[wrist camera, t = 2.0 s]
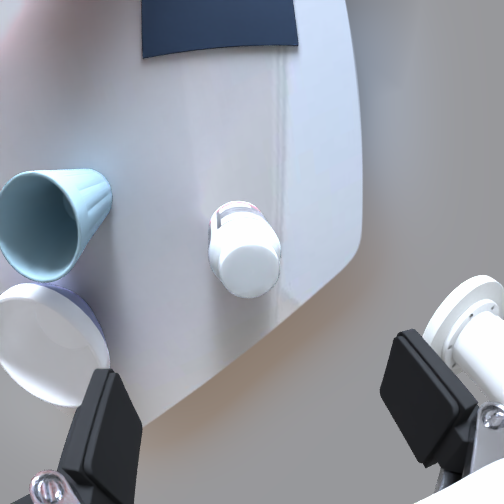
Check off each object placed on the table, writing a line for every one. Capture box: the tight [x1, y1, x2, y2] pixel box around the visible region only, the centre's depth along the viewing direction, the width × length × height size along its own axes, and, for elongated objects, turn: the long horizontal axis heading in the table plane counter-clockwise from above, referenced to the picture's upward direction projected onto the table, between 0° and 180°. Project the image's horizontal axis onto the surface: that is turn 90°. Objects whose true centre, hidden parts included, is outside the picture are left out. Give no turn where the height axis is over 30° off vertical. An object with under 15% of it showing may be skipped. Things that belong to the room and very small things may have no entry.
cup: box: [0, 169, 112, 283], centre depth 21 cm, size 8×8×10 cm
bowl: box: [0, 283, 111, 408], centre depth 26 cm, size 14×14×8 cm
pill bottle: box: [208, 201, 281, 298], centre depth 24 cm, size 5×5×10 cm
